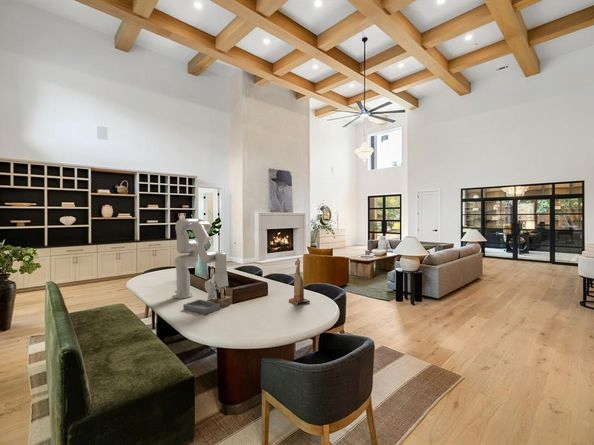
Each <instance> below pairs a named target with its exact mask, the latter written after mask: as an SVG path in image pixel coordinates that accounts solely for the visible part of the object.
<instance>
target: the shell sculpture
mask: <svg viewBox="0 0 594 445" xmlns="http://www.w3.org/2000/svg"><path fill="white" fill-rule="evenodd" d="M213 279H214V274H212V276H211V277H210V279H209V280H207V281H205V282H204V289H205V291H206V292H207V301H209V302H211V298H214V297H217V292H216V291H215V290H214V289H213Z"/></svg>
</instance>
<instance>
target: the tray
mask: <svg viewBox="0 0 594 445" xmlns="http://www.w3.org/2000/svg"><path fill="white" fill-rule="evenodd" d="M219 310H221V308H220V304H218V303H213V302H211V301H210V300H203V299H196V300H193V301H191V302H187V303H184V304H183V311H187V312H192V313H196V314H199V315H203V316H206V315H208V314H211V313H214V312H216V311H219Z"/></svg>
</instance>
